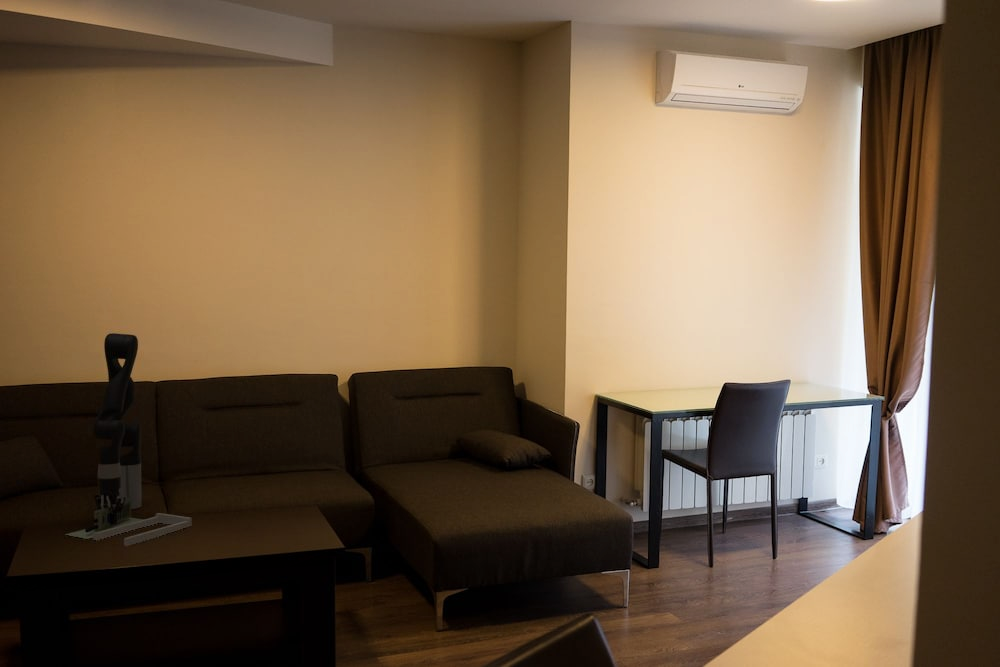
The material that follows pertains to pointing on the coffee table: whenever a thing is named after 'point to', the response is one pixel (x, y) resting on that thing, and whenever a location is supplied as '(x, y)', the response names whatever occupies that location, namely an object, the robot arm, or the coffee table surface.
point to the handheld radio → (104, 516)
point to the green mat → (90, 534)
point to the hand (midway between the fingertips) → (109, 523)
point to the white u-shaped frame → (174, 520)
